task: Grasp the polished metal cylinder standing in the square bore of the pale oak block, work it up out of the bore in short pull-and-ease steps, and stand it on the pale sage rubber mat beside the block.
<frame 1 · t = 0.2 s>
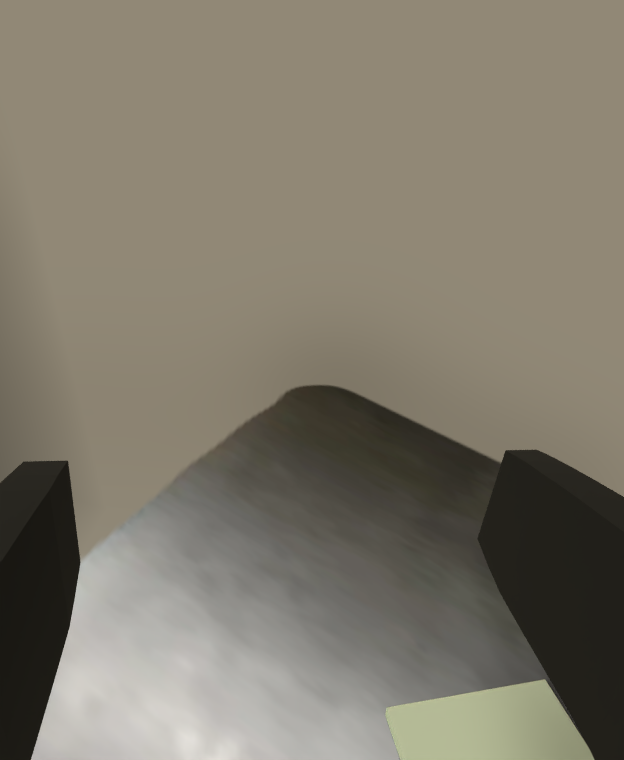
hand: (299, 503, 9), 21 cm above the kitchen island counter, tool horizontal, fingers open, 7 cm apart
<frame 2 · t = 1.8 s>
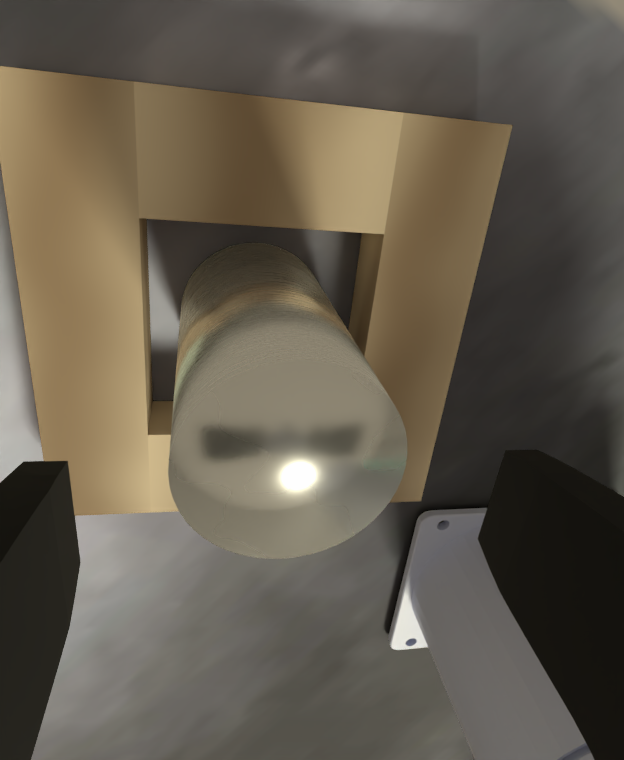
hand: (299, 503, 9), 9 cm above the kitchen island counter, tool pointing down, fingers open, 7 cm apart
bore block: (253, 314, 17), on the kitchen island counter
polished metal cylinder: (268, 371, 13), in the bore block
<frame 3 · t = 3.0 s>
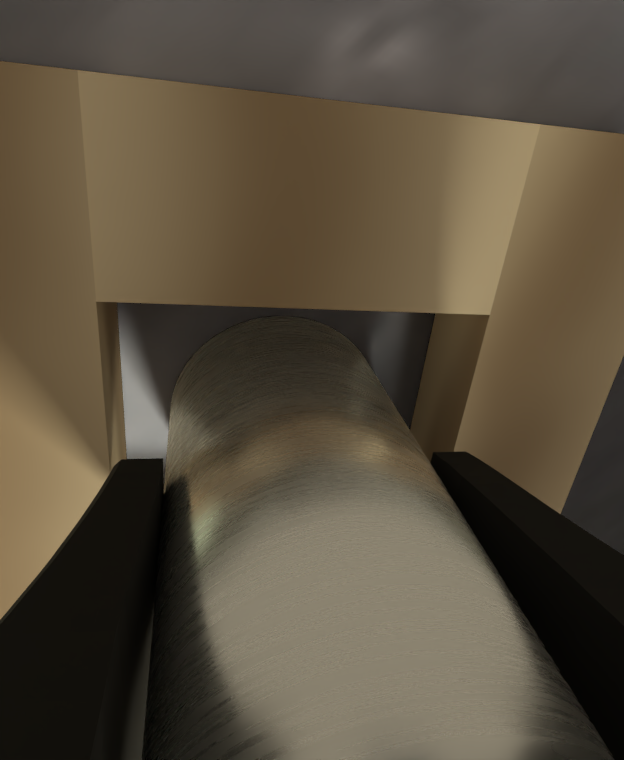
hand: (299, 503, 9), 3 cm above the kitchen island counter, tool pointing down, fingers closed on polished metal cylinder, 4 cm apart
bore block: (277, 413, 12), on the kitchen island counter
polished metal cylinder: (310, 551, 8), in the bore block, touching gripper
when the fingers open (4 cm above the kitchen island counter, at t = 9.9 s): polished metal cylinder stays where it is, resting on sage mat.
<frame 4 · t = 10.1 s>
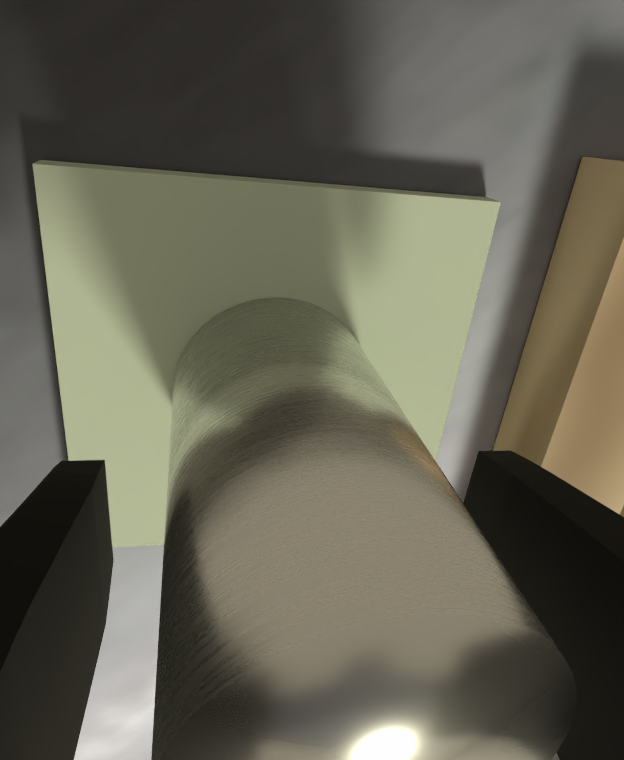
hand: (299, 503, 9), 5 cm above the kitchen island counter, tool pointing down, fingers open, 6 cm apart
sage mat: (268, 378, 13), on the kitchen island counter
polished metal cylinder: (304, 506, 9), on the sage mat, point 5 cm above the kitchen island counter
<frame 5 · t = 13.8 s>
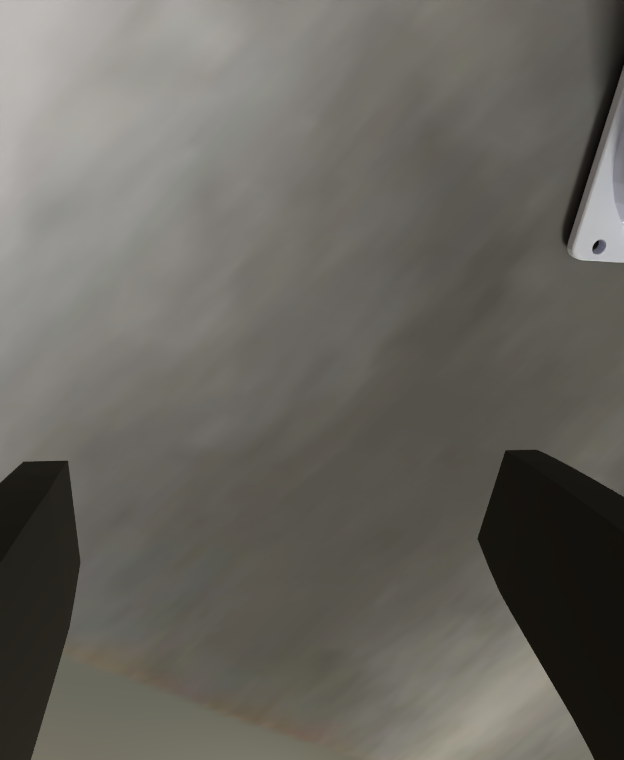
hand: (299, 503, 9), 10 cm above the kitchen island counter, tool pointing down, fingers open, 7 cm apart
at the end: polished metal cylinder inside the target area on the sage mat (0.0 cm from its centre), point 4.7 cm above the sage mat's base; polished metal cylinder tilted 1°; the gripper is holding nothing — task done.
